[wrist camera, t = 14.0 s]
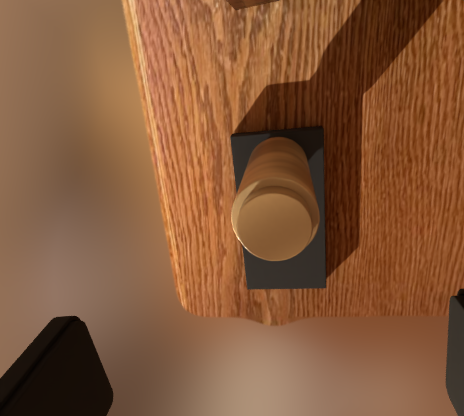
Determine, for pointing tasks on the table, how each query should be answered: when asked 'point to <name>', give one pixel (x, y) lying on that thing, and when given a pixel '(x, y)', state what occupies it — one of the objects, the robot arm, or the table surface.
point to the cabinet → (247, 3)
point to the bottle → (276, 201)
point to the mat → (314, 254)
